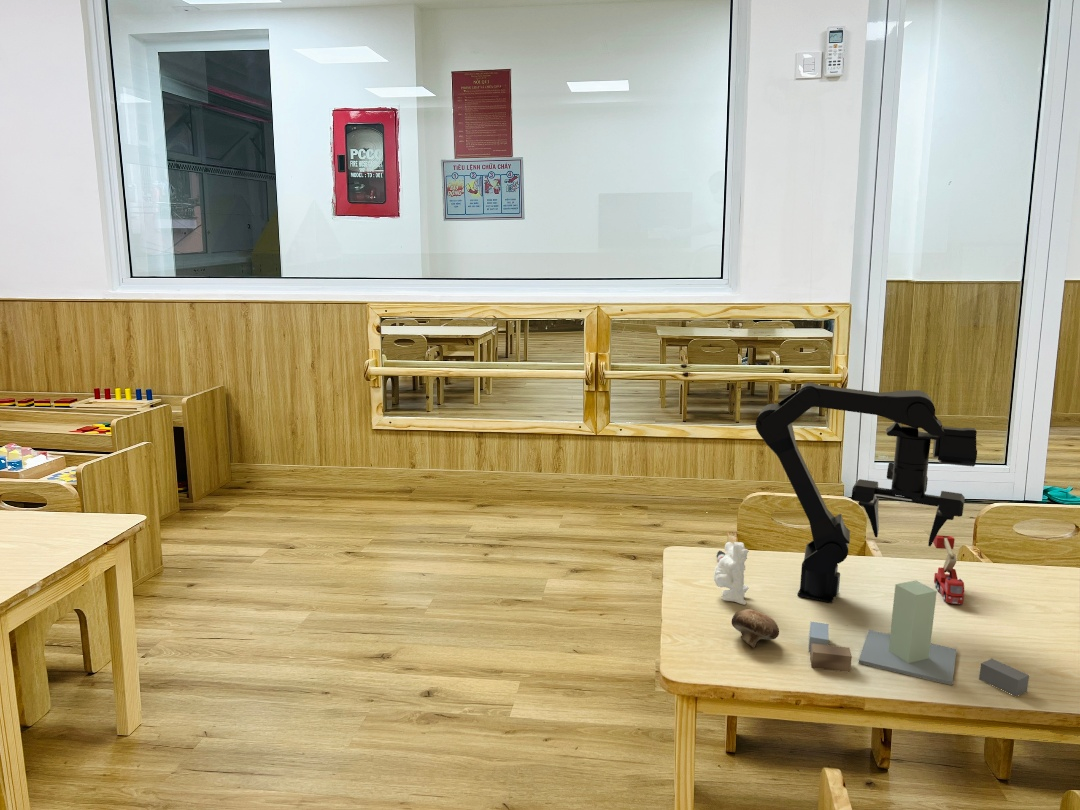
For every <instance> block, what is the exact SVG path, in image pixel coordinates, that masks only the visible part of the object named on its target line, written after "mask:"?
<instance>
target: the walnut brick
mask: <svg viewBox="0 0 1080 810" xmlns="http://www.w3.org/2000/svg"><path fill="white" fill-rule="evenodd" d="M852 657H853V656H852V652H851V649H850V647H848V646H847V647H846V646H838V645H830V644H828V645H822V644H813V643H811V653H810V654H809V660H810V666H811V669H817V670H825V671H826V670H827V671H835V672H844V673H851V669H852Z"/></svg>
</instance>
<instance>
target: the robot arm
mask: <svg viewBox="0 0 1080 810" xmlns="http://www.w3.org/2000/svg"><path fill="white" fill-rule="evenodd" d="M814 407H815V408H821V409H822V408H823V409H828V410H838V411H845V412H852V413H860V414H866V415H867V414H868V415H873V416H874V415H875V416H879V417H882V418H885V419H888V420H890V421H893V422H894V423H892V424H891V425H890V426H888V427H887V428H885V431H886V435H887V436H888V437H896V440H895V451H894V460H893V462H888V464H887V470H886V471H887V472H886V479H887V480H890V481H891V486H890V487H891V488H887V487H885V488H884V487H880V486H879V482H878V481H875V480H868V479H867V480H866V479H860V478H859V479H858V480H856V481H855V484H853V486H852V489H851V498H850V499H851V500H852V501H854V502H858V506H859V507H863V509H864V510H865V512H866V515H867V517H868V519H869V522H870V525H871V528H872V532H873V535H874V538H878V536H879V530H880V529H879V527H880V523H879V520H880V519H879V501H880V499H885V500H890V501H891V500H892V501H896V502H897V501H898V502H905V503H909V504H918V505H919V504H920V505H923V506H924V505H925V506H929V507H930V506H931V507H937V509H936V512H935V517H934V520H933V524H932V527H931V531H930V534H929V538H928V544H927V545H928V547H931V546H932V545H933V544H934V543H933V541H934V539H935V537H936V535H938V534H939V532H940V530H941V528H942V527H943V526H944V524H945V523H946V522H947V521H953V520H954V519H955V517H963V512H964V508H965V506H964V505H965V496H964V495H963V493H959V492H951V491H945V490H941V492H940V495H935V494H934V495H933V494H927V493H926V492H927V489H928V488H927V487H928V479H929V478H928V469H929V468H928V467H929V458H930V451H931V442H932V441H931V440H933V445H932V457H933V458H937V461H938V464H941V465H942V464H944V465H952V466H962V467H964V466H965V467H975V466H976V462H977V458H978V449H977V434H978V433H977V429H976V428H975V427H953V426H952V427H951V426H943V423H942V422H941V419H939V418H938V417H937V415H936V408H935V405H934V403H933V400H932V398H931V397H930V396H929V394H928V393H926V392H924V391H921V390H918V389H917V390H916V389H913V390H912V389H911V390H895V391H894V390H893V391H889V392H887V391H886V392H879V391H870V390H869V391H868V390H863V389H861V390H860V389H853V388H848V387H846V388H845V387H837V386H829V385H821V384H817V383H814V382H806V383H804V384H803V385H801V387H799V389H797V390H796V391H794V392H793V393H791V394H789V395H788V396H786V397H784V398H783V399H781V401H779V402H778V403H769V404H767V405H765V406H764V407H763V408H761V410H760V412H759V414H758V416H757V418H756V421H755V428H756V432H757V433H758V435H759V436H760V437H761V439H762V440H763V442H764V443H765V444H766V445H767V447H768V448H770V450H771V451H772V452H773V453H774V455H776V456H777V458H778V460H779V462H780V464H781V465H782V467H783V470H784V472H785V474H786V476H787V478H788V480H789V482H790V485H791V486H792V489H793V491H794V492H795V495H796V497H797V499H798V501H799V503H800V505H801V508H802V509H803V512H804V513H805V516H806V517H807V519H808V522H809V527H810V530H811V531H810V532H811V536H812V541H809V542H808V543H807V544H806V546H805V552H804V558H803V561H802V563H801V572H800V582H799V583H800V584H799V590H798V592H797V597H801V598H805V599H810V600H815V601H820V602H825V603H833V602H834V599H835V598H836V597H837V596H838V595H839V592H840V583H841V582H840V581H841V573H840V572H839V571H838V570H839V569H838V568H839V564H840V563H842V562H844V561H845V560H846V559H847V557H848V555H849V544H850V542H851V541H850V540H851V530H850V529H849V528H847V526H846V525H845V523H844V519H843V518H844V517H843V516H842V514H841V513H839V514H837V515H834V514H833V513H832V512H831V511H830V510H829V509H828V507H827V505H826V502H825V501H824V499H823V497H822V495H821V493H820V490H819V488H818V486H817V485H816V483H815V480H814V478H813V476H812V474H811V472H810V470H809V468H808V465H807V464H806V462H805V460H804V458H803V456H802V453H801V452H800V450H799V447H798V445H797V441H796V437H795V432H794V426H793V422H795V421H796V420H797V419H799V418H800V417H801V416H802V415H803V414H805V413H806V412H807V411H808V410H810V409H812V408H814ZM919 429H922V430H923V431H919Z"/></svg>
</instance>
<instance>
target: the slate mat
mask: <svg viewBox="0 0 1080 810" xmlns="http://www.w3.org/2000/svg"><path fill="white" fill-rule="evenodd" d="M889 640H890V633H886V632H882V631H876V630H872V629H868V631H867V635H866V638H865V640H864V643H863V646H862V649H861V652H860V655H859V658H858V664H860V665H865V666H869V667H873V668H877V669H880V670H881V669H882V670H885V671H890V672H894V673H899V674H903V675H907V676H911V677H915V678H920V679H924V680H928V681H933V682H937V683H941V684H945V685H949V686H953V683H954V682H953V681H954V673H955V665H956V655H957V648H955V647H950V646H946V645H940V644H937V643H931V644H930V653H929V658H928V659H924V660H920V661H915V662H911V663H907V662H906V661H904V660H903V659H901V658H899V657H898V656H896V655H895V654H893V653H891V652H890V651H888V650H889Z"/></svg>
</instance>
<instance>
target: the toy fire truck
mask: <svg viewBox="0 0 1080 810" xmlns="http://www.w3.org/2000/svg"><path fill="white" fill-rule="evenodd" d="M955 540H956V539H955V538H954V537H953V536H951V535H939V534H937V535H936V537H935V539H934V541H933V543H932V544H933V545H934V546H935V548H936V549H942V550H946V552H947V556H946V557H945V562H944V564H943V567H937V568H938V569H937V572H935V573H934V575H933V576H934V577H933V583H934V588H935V589H936V591H937V592H939V593H940V594H941V595H940V596H941V597H942V600H943V602H945V603H948V604H953V605H963V604H964V598H965V597H964V595H965V582H964V580H963V579H961V578H959V579H958V574H957V570H956V569H955V568H954V567H955V565H956V564H957V557H956V556H957V555H956V553H954V552H953V550H954V545H955ZM948 573H949V574H948Z"/></svg>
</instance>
